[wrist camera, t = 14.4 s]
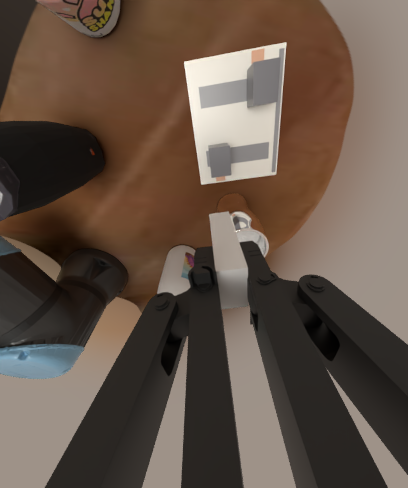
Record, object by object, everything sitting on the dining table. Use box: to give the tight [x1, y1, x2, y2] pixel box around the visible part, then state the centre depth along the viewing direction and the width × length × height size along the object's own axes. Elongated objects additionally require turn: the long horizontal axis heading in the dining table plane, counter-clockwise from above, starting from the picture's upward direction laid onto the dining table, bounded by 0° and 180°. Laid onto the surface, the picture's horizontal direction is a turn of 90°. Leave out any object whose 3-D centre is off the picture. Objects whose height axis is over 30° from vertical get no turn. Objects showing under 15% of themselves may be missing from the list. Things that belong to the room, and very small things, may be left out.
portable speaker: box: [0, 121, 105, 221], centre depth 24 cm, size 9×9×20 cm
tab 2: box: [247, 57, 281, 108], centre depth 23 cm, size 3×4×4 cm
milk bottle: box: [157, 245, 195, 296], centre depth 37 cm, size 8×8×20 cm
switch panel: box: [184, 42, 286, 185], centre depth 29 cm, size 13×16×3 cm
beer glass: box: [217, 193, 269, 257], centre depth 32 cm, size 7×7×15 cm
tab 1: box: [208, 143, 231, 178], centre depth 28 cm, size 3×4×4 cm
